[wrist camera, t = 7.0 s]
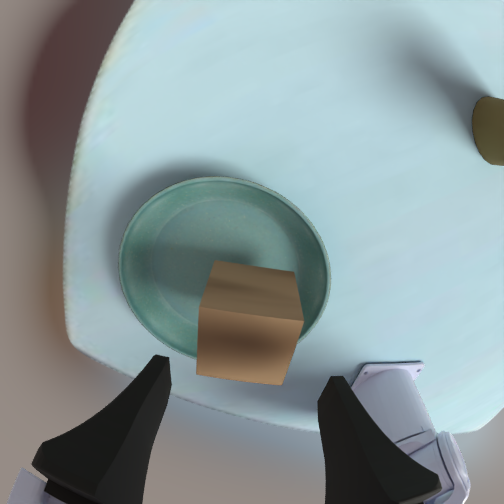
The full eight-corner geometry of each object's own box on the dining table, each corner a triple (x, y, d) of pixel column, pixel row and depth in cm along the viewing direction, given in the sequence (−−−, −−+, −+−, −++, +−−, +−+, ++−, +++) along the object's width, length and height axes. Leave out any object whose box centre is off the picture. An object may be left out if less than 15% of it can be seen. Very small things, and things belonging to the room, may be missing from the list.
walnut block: (278, 331, 19) (281, 385, 15) (209, 322, 19) (196, 374, 15) (294, 271, 17) (304, 321, 13) (214, 259, 17) (199, 306, 13)
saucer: (116, 181, 18) (97, 190, 15) (327, 167, 17) (337, 173, 15) (154, 341, 24) (146, 361, 21) (316, 341, 23) (320, 363, 21)
